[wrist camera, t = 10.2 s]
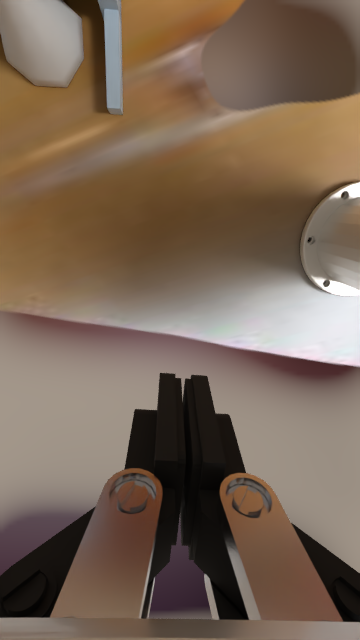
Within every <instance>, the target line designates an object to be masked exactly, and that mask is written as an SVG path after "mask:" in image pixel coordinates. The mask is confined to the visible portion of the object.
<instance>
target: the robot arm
mask: <svg viewBox="0 0 360 640" xmlns="http://www.w3.org/2000/svg"><path fill="white" fill-rule="evenodd" d="M341 194H342V197H341ZM308 238H310V240H309V241H307V240H308ZM300 255H301V262H302V265H303V268H304V270H305V272H306V274H307V276H308V277H309V279H310V280H311V281H312V282H313V283H314V284H315V285H316V286H318V287H319V288H321V289H322V290H324V291H326V292H328V293H331V294H334V295H338V296H356V295H360V182H355V183H351V184H348V185H345V186H342V187H340V188H338V189H337V190H335V191H333V192H332V193H330V194H329V195H328V196H327V197H325V198H324V199H323V200H322V201H321V202H320V203H319V204H318V205H317V207H316V208H315V209H314V210H313V212H312V213H311V215H310V217H309V218H308V220H307V222H306V225H305V227H304V230H303V233H302V238H301V242H300ZM324 281H325V282H324ZM323 282H324V283H323ZM179 516H181V517H180V518H181V543H182V545H184V546H185V545H186V546H188V547H189V559H190V560H194V562H195V564H196V565H197V566H198V567H199V568H200V569H201V570H202V571H203V572H204V573H205V575H204V577H205V586H206V591H207V595H208V600H209V604H210V609H211V613H212V618H213V620H211V619H210V620H209V619H208V620H207V619H148V617H149V611H150V605H151V599H152V594H153V588H154V581H155V576H156V575H157V574H158V573H159V572H160V571H161V570H162V569H163V568H164V567H165V566H166V565H167V563H169V561H170V553H171V545H176V541H177V533H178V523H179ZM0 640H360V573H358V572H357V571H356V570H354V569H353V568H351V567H350V566H349V565H347V564H346V563H345V562H343V561H342V560H341V559H339V558H338V557H337V556H335V555H334V554H333V553H331V552H330V551H329V550H327V549H326V548H325V547H323V546H322V545H321V544H319V543H318V542H317V541H315V540H314V539H312V538H311V537H310V536H308V535H307V534H305V533H304V532H303V531H302V530H300V529H299V528H298V527H296V526H295V525H294V524H292V523H291V522H290V520H289V518H288V516H287V514H286V513H285V511H284V509H283V507H282V505H281V503H280V501H279V499H278V497H277V496H276V494H275V492H274V491H273V489H272V488H271V487H270V486H269V485H268V484H267V483H266V482H265V481H264V480H262V479H260V478H258V477H256V476H254V475H251V474H248V473H246V471H245V467H244V464H243V461H242V457H241V454H240V450H239V446H238V443H237V439H236V436H235V432H234V429H233V425H232V422H231V418H230V416H229V415H228V414H215V410H214V405H213V400H212V396H211V391H210V387H209V382H208V377H207V376H201V375H191V379H185V385H184V395H183V403H182V387H181V378H175V374H169V373H160V380H159V393H158V406H157V410H141V409H135V411H134V417H133V423H132V429H131V434H130V440H129V446H128V452H127V458H126V464H125V469H124V470H122V471H120V472H118V473H116V474H114V475H113V476H112V477H111V478H110V479H109V480H108V481H107V483H106V484H105V486H104V488H103V490H102V493H101V495H100V498H99V500H98V503H97V505H96V507H94V508H93V509H91V510H90V511H89V512H87V513H86V514H84V515H83V516H82V517H80V518H79V519H77V520H76V521H74V522H73V523H72V524H70V525H69V526H67V527H66V528H65V529H63V530H62V531H60V532H59V533H58V534H56V535H55V536H53V537H52V538H51V539H49V540H48V541H46V542H45V543H44V544H42V545H41V546H39V547H38V548H37V549H35V550H34V551H32V552H31V553H29V554H28V555H27V556H25V557H24V558H22V559H21V560H20V561H18V562H17V563H16V564H14V565H13V566H11V567H10V568H9V569H8V570H7V571H5V572H4V573H3V574H2V575H1V576H0Z"/></svg>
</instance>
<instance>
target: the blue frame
mask: <svg viewBox="0 0 360 640" xmlns="http://www.w3.org/2000/svg"><path fill="white" fill-rule="evenodd" d="M98 3H99V6H100V9H101V13H102V16H103V19H104V26H105V57H106V88H107V109H108V110H109V112H110V114H118V115H123V90H122V32H121V0H98Z"/></svg>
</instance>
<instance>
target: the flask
mask: <svg viewBox="0 0 360 640" xmlns="http://www.w3.org/2000/svg"><path fill="white" fill-rule="evenodd" d="M0 34H1V38H2V43H3V47H4V52H5V56H6V60H7V62H8V63H9V64H11V65H12V66H13V67H14V68H15V69H16V70H18V71H19V72H20V73H21V74H22V75H24V76H25V77H26V78H27V79H28V80H29V81H31V82H32V83H33V84H34V85H35V86H49V87H66V88H67V87H68V85H69V83H70V82H71V80H72V78H73V77H74V75H75V73H76V71H77V70H78V68H79V66H80V65H81V63H82V61H83V59H84V50H83V34H82V18H80V17H79V16H78V15H77V14H76V13H75V12H74V11H73V10H72V9H71V8H70V7H69V6H68V5H67V4H66V3H65V2H64V1H63V0H0Z"/></svg>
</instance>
